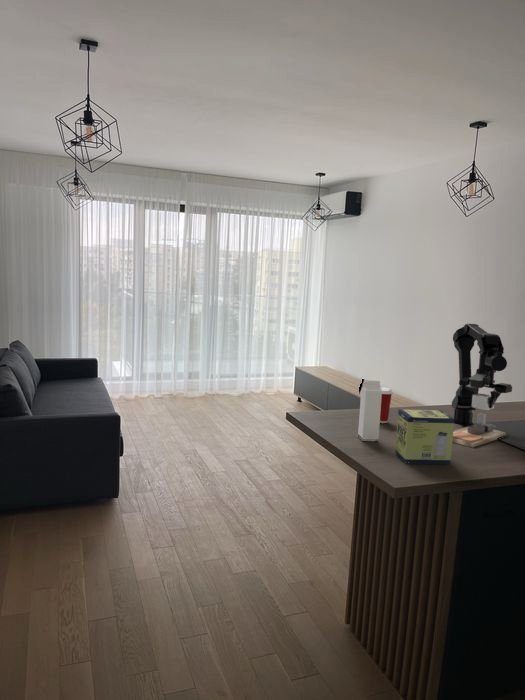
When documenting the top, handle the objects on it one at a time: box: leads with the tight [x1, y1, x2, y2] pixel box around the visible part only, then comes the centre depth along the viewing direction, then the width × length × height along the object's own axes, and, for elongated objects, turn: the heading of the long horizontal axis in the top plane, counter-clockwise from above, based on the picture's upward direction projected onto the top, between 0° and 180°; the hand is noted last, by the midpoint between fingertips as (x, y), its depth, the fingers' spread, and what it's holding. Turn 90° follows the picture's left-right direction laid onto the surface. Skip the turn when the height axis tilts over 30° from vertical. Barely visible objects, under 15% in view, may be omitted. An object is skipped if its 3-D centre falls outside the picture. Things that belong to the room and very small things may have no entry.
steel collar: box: [472, 392, 495, 411], centre depth 206 cm, size 6×6×5 cm
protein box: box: [394, 408, 455, 465], centre depth 176 cm, size 10×16×16 cm
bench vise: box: [467, 412, 497, 435], centre depth 208 cm, size 5×14×7 cm, turn 131°
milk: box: [357, 380, 382, 440], centre depth 194 cm, size 6×6×22 cm
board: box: [452, 426, 507, 448], centre depth 205 cm, size 13×26×2 cm, turn 131°
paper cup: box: [380, 386, 393, 421], centre depth 221 cm, size 8×8×14 cm
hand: (482, 406), depth 207 cm, fingers closed on steel collar, 6 cm apart
